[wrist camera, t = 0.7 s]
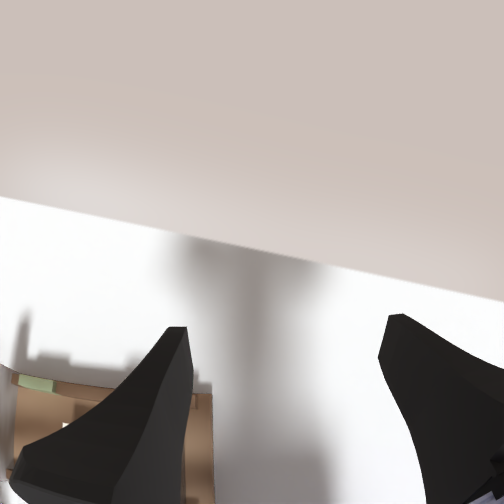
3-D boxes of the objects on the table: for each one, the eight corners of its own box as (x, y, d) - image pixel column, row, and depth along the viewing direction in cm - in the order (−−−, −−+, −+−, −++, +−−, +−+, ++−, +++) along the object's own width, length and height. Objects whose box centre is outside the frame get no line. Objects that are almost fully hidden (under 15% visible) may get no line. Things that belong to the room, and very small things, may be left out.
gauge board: (215, 523, 17) (205, 545, 12) (9, 476, 17) (-32, 473, 12) (212, 395, 23) (201, 381, 18) (15, 374, 23) (-23, 354, 18)
